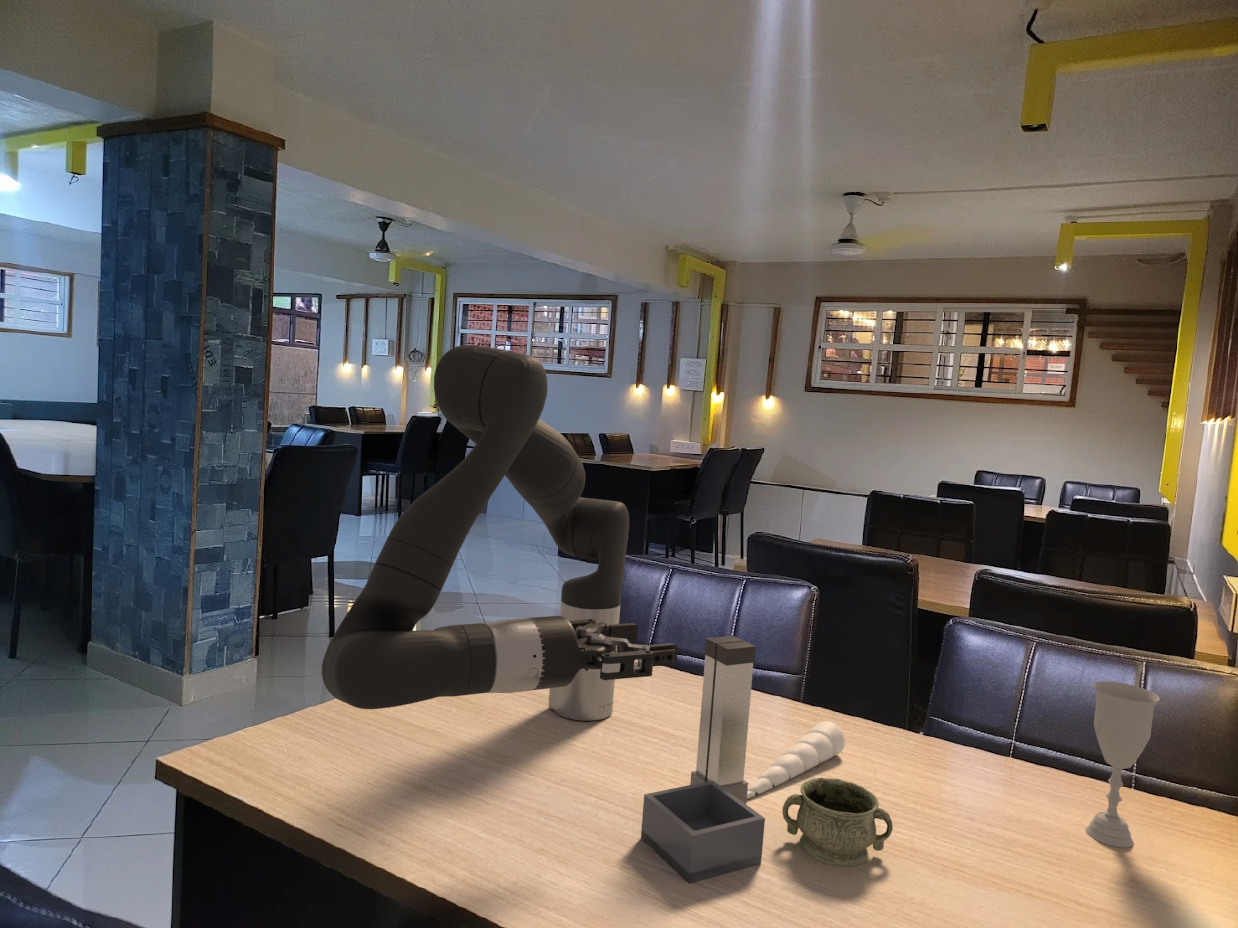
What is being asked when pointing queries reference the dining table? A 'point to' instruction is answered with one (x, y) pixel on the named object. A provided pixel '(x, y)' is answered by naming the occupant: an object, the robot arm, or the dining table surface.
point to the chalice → (1120, 748)
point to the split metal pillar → (725, 714)
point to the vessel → (837, 821)
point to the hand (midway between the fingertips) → (654, 642)
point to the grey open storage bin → (702, 830)
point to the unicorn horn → (801, 757)
